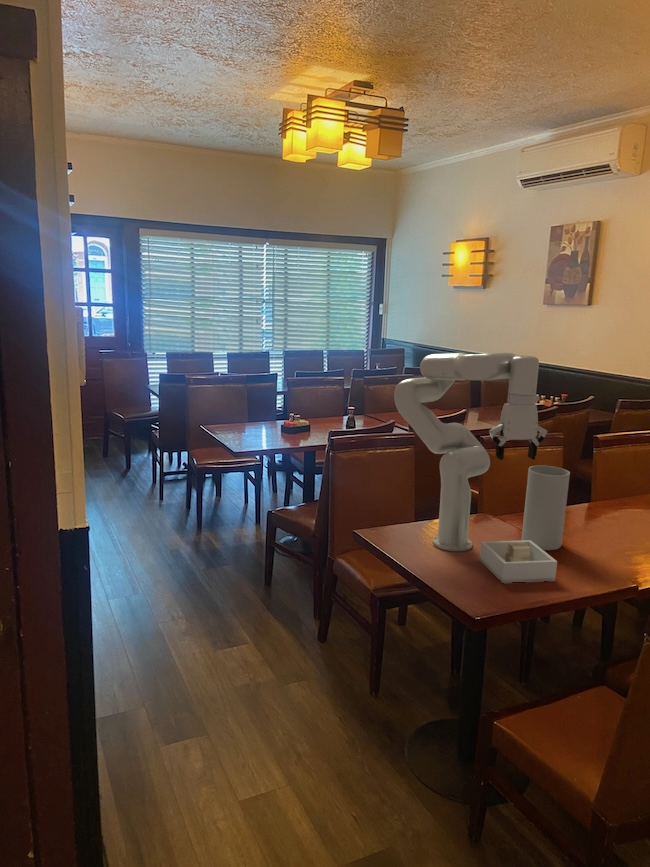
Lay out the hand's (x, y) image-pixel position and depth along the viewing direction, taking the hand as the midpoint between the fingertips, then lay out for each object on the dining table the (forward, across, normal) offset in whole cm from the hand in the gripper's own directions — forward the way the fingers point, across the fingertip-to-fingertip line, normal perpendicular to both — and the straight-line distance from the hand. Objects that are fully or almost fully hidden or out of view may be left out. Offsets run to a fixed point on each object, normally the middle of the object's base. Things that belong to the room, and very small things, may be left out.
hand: (515, 458), depth 180 cm
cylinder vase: (+34, -20, -16) cm, 42 cm away
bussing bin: (+33, -2, +3) cm, 33 cm away
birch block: (+32, -2, +3) cm, 33 cm away
